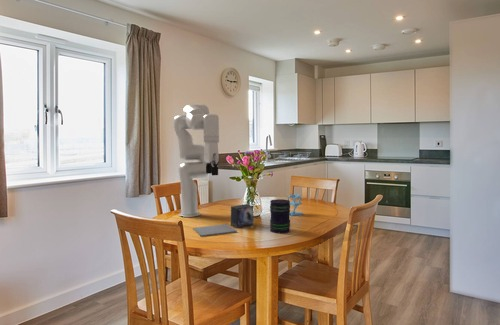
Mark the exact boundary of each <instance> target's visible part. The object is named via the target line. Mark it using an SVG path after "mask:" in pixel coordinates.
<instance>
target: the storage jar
mask: <svg viewBox="0 0 500 325" xmlns="http://www.w3.org/2000/svg"><path fill="white" fill-rule="evenodd" d="M290 202H291V201H290V199H289V200H288V199H282V198H281V199H280V198H279V199H278V198H277V199H271V200H270V206H269V212H270V220H269V222H270V223H269V226H270V232H271V233H273V234H288V233H290V232H291V230H290V229H291V219H290V215H289V213H290V212H291V205H290Z"/></svg>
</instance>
